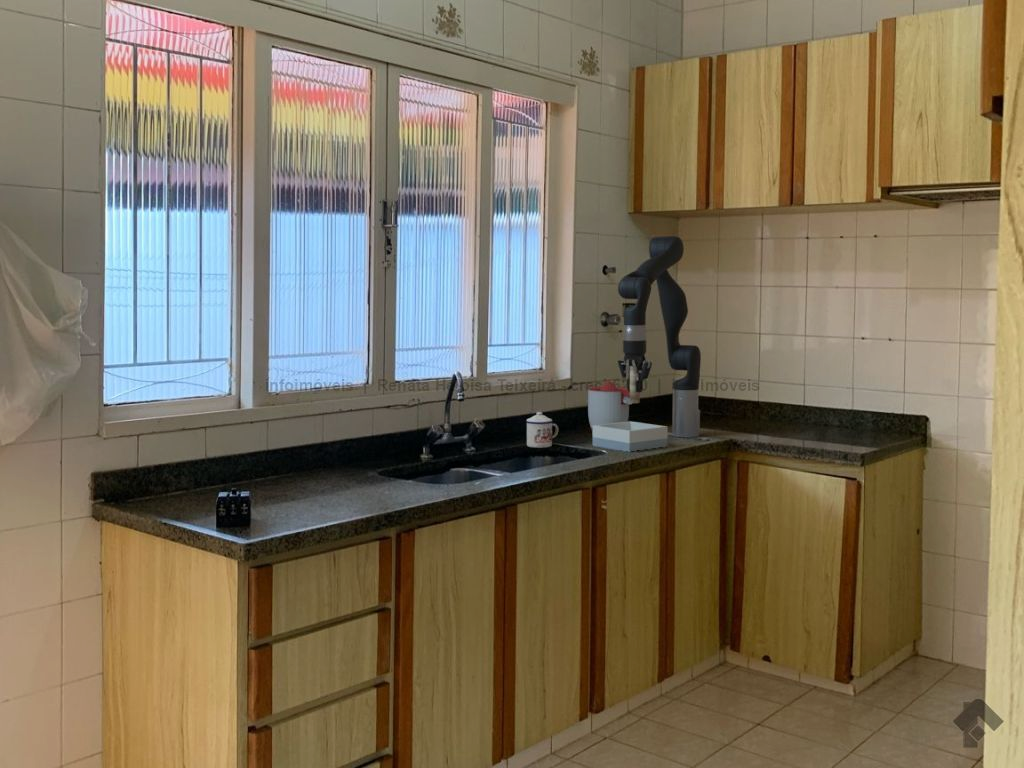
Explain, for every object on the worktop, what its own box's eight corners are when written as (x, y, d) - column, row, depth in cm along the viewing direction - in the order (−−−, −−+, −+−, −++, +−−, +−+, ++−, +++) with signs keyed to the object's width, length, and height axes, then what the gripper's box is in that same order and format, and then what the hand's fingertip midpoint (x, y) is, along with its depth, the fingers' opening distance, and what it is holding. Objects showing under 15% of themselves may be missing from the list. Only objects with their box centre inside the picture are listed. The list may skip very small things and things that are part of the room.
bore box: (630, 440, 368) (630, 421, 367) (667, 446, 353) (667, 426, 353) (592, 445, 356) (592, 425, 356) (629, 452, 342) (629, 431, 342)
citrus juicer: (619, 438, 374) (619, 383, 372) (579, 434, 384) (579, 380, 382) (641, 433, 386) (641, 380, 384) (601, 429, 397) (602, 377, 395)
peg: (634, 401, 341) (634, 365, 340) (641, 402, 339) (641, 365, 338) (627, 402, 339) (627, 366, 338) (634, 403, 337) (634, 366, 336)
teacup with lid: (534, 448, 350) (534, 414, 349) (521, 445, 358) (521, 411, 357) (564, 445, 356) (564, 412, 355) (550, 442, 364) (550, 409, 363)
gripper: (658, 339, 334) (658, 392, 336) (627, 337, 345) (627, 389, 347) (642, 340, 329) (642, 394, 331) (611, 338, 340) (611, 390, 342)
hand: (634, 391), depth 339 cm, fingers closed on peg, 3 cm apart
